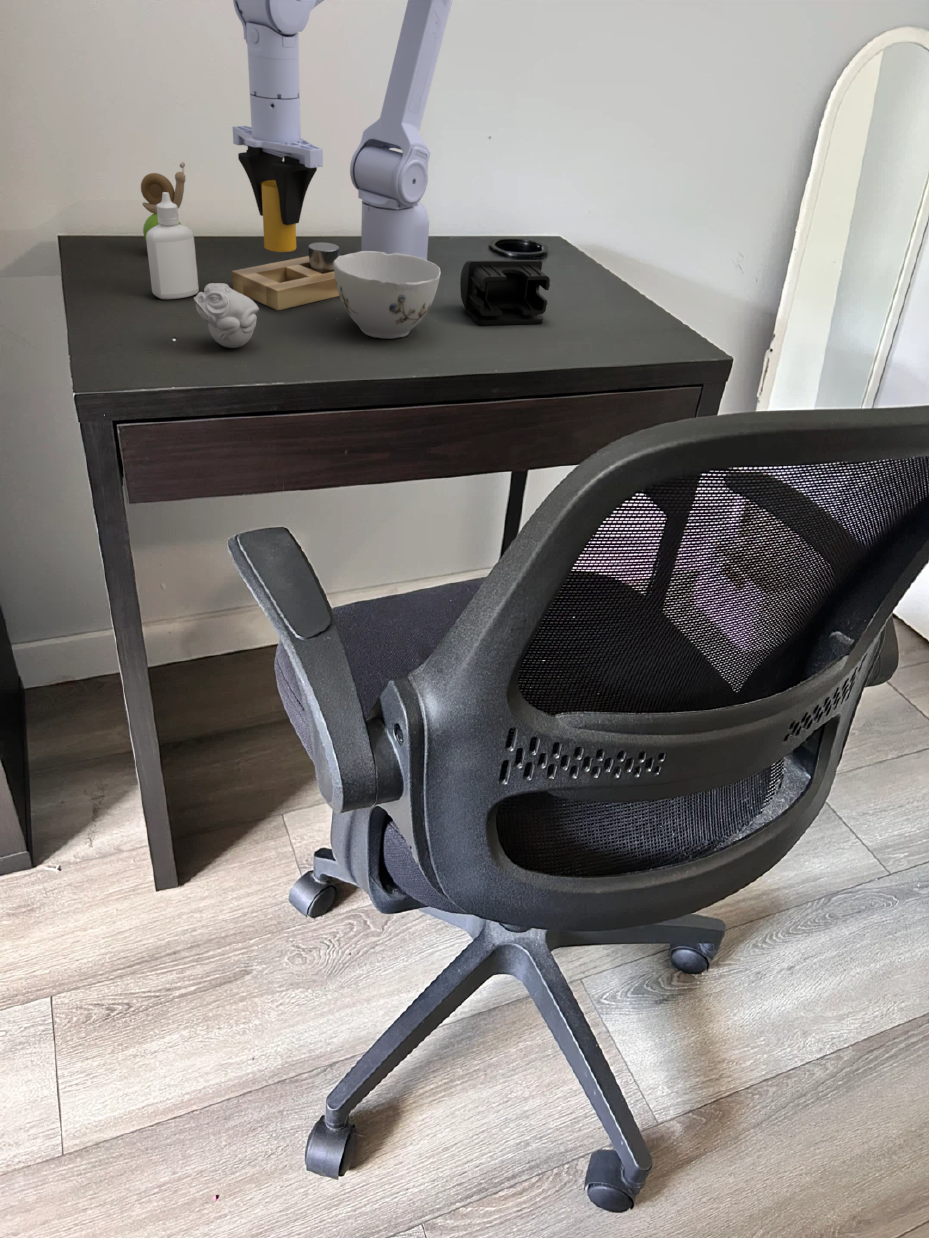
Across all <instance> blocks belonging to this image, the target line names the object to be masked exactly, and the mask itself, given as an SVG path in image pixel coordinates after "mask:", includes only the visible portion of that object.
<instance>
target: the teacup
mask: <svg viewBox="0 0 929 1238" xmlns="http://www.w3.org/2000/svg"><path fill="white" fill-rule="evenodd" d="M334 274H335V281H336V285H337V289H338V293H339V296H338V297H339V298H340V301H341V303H342V305H343V307H344V309H345V311H346V312H347V314H348V315H349V317H350V318H351V320H352V321H353V322H354V323H355V324H356V325H357V326H358V327H359V329H360V330H361V332H362V333H363V334H364V335H366V336H369V337H372V338H379V339H387V340H388V339H389V340H391V339H392V340H393V339H397V338H405V337H406V336H408V335H409V334H410V333H411V330H412V329H414V328H415V327H416V326H417V325H418V324H419V323H420V322H421V321H422V320H423V319H424V317H425V316H426V315H427V313H428V312H429V310H430V308H431V306H432V304H433V302H434V299H435V297H436V294H437V291H438V287H439V284H440V278H441V274H442V273H441V268H440V266H438V264H436V263H435V262H432V261H430V260H428V259H427V260H425V259H423V258H420V257H417V256H413V255H406V254H400V253H393V254H386V253H383V252H376V251H361V250H360V251H356V252H351V253H350V252H349V253H347V254H344V255H339V257H337V258H336V260H334Z"/></svg>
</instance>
